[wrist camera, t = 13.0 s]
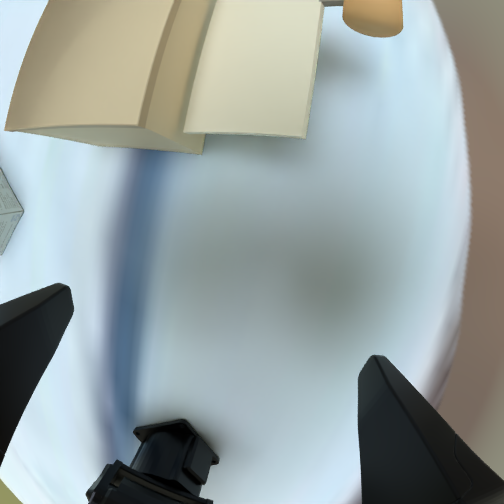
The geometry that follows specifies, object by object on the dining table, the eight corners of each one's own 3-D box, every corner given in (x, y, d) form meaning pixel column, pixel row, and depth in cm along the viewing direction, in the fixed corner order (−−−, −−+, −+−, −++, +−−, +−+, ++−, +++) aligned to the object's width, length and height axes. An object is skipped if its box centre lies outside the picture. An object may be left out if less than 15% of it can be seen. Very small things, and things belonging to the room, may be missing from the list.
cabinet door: (167, 128, 12) (393, 142, 7) (209, -20, 10) (392, -48, 6) (202, 137, 14) (399, 159, 9) (235, 0, 12) (403, -14, 8)
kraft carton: (99, 147, 19) (4, 130, 9) (131, 28, 17) (66, -32, 7) (202, 155, 18) (137, 125, 9) (231, 25, 16) (203, -63, 7)
